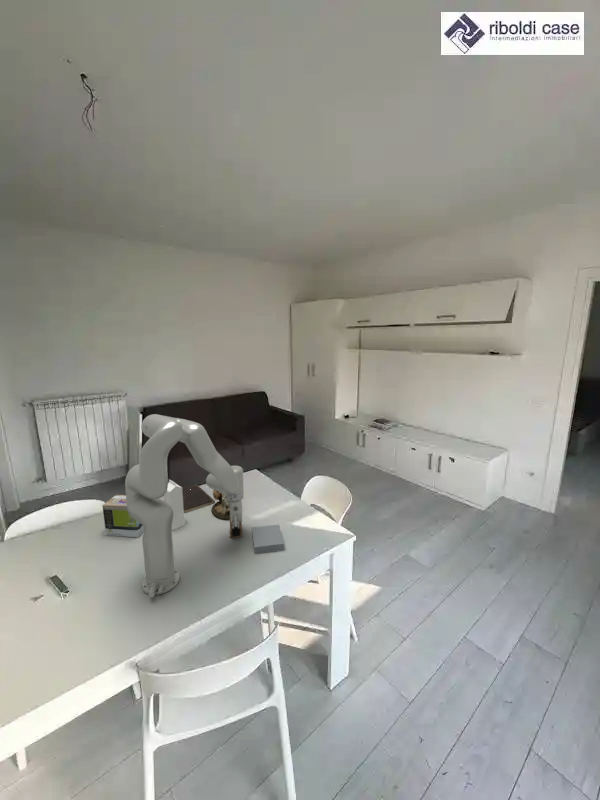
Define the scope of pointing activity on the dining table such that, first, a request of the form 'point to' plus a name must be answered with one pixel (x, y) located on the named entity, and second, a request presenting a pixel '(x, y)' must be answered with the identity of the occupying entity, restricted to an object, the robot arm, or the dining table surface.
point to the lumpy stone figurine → (221, 506)
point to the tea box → (120, 518)
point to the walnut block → (232, 527)
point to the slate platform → (267, 539)
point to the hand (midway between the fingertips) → (235, 531)
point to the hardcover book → (195, 498)
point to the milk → (175, 503)
